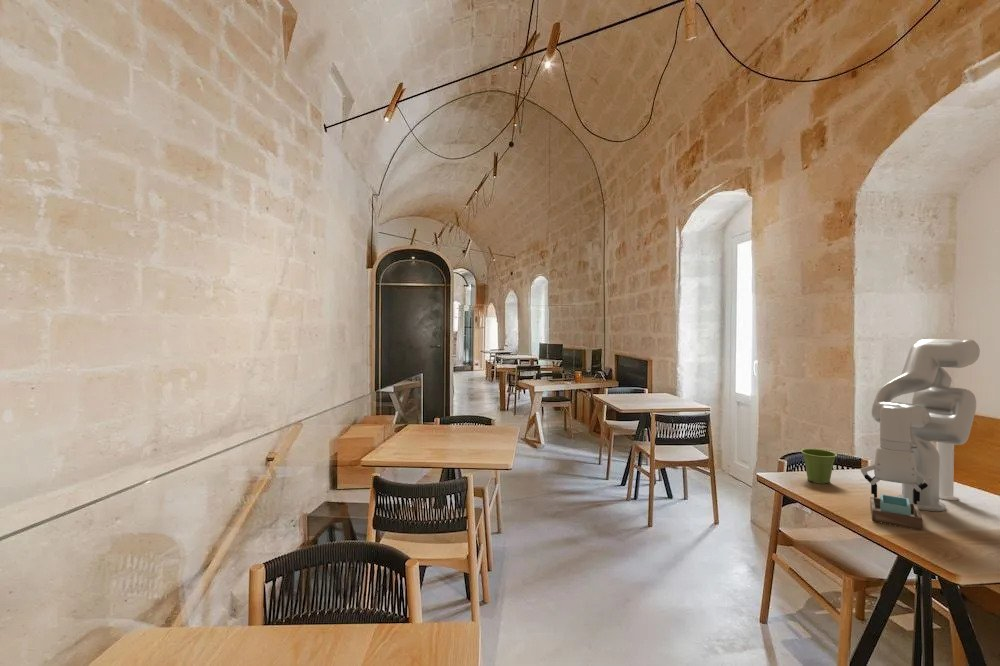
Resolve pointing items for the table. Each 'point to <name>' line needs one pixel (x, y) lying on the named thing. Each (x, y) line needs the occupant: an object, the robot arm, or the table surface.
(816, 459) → the plant pot
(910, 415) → the robot arm
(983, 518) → the table surface
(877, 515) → the walnut crate
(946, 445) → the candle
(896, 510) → the teal crate
